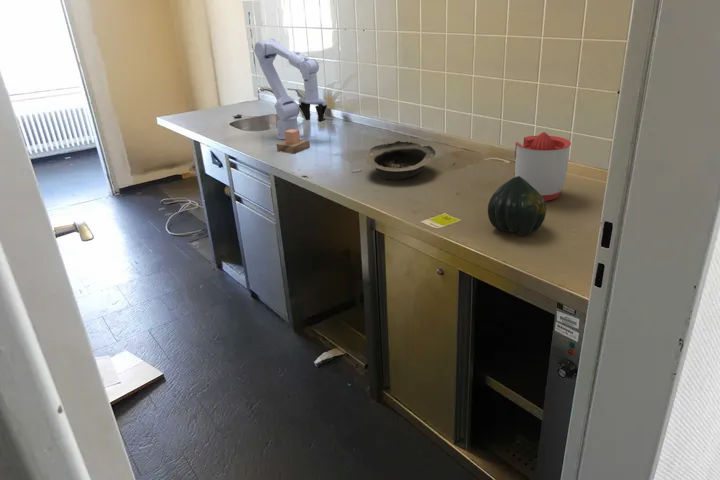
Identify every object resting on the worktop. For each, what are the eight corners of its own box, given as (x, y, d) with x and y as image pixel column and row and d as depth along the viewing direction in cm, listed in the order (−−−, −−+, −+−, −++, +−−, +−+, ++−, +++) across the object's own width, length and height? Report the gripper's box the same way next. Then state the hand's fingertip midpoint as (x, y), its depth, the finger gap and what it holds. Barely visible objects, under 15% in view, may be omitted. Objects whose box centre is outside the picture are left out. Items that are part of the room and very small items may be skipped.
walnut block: (277, 152, 233) (276, 144, 231) (292, 146, 240) (291, 138, 239) (295, 154, 228) (294, 146, 226) (310, 148, 235) (309, 140, 233)
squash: (513, 229, 135) (541, 176, 135) (469, 214, 146) (495, 166, 147) (539, 250, 144) (564, 200, 144) (495, 235, 155) (519, 189, 156)
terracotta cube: (285, 143, 232) (284, 131, 230) (292, 140, 235) (291, 129, 233) (293, 144, 230) (292, 132, 227) (300, 141, 233) (299, 130, 231)
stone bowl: (414, 158, 210) (415, 135, 205) (446, 182, 189) (448, 157, 185) (355, 168, 202) (355, 145, 198) (382, 193, 182) (382, 168, 177)
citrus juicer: (520, 182, 179) (524, 122, 171) (572, 191, 169) (580, 128, 161) (498, 197, 169) (502, 134, 160) (553, 208, 158) (560, 141, 150)
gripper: (292, 90, 234) (296, 121, 240) (318, 92, 226) (321, 124, 232) (303, 87, 239) (306, 117, 245) (328, 88, 231) (331, 120, 237)
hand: (314, 120), depth 238 cm, fingers open, 7 cm apart
